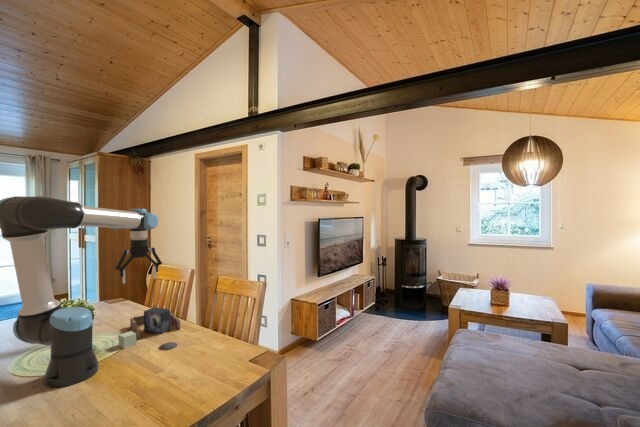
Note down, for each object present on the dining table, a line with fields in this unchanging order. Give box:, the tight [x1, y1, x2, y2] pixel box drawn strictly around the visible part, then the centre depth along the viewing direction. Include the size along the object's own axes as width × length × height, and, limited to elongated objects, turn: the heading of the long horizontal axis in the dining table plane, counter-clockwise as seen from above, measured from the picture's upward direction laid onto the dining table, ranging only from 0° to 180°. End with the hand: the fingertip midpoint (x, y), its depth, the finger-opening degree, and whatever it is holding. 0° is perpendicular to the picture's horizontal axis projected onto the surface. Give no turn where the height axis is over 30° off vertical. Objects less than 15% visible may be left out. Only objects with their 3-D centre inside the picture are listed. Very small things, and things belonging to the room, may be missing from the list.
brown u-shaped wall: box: [129, 310, 181, 341], centre depth 153 cm, size 20×18×4 cm
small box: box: [143, 306, 171, 336], centre depth 149 cm, size 11×6×10 cm, turn 73°
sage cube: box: [118, 330, 137, 349], centre depth 134 cm, size 5×5×5 cm
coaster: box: [159, 341, 178, 351], centre depth 132 cm, size 7×7×1 cm
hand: (139, 280), depth 154 cm, fingers open, 13 cm apart
